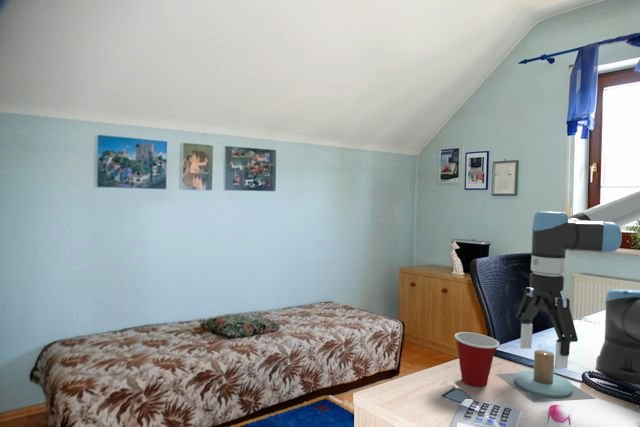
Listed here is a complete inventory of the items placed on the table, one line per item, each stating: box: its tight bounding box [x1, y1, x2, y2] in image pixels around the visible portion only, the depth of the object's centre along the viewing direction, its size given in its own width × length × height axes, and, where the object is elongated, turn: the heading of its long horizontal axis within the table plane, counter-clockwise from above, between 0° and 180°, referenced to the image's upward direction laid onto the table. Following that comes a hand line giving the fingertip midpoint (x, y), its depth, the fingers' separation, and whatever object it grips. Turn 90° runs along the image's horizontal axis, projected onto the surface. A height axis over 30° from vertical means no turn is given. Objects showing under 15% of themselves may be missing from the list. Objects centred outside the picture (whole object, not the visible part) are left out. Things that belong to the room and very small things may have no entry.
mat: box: [495, 372, 597, 403], centre depth 111 cm, size 16×16×1 cm
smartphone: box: [440, 387, 473, 406], centre depth 102 cm, size 7×1×15 cm
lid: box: [515, 349, 574, 397], centre depth 111 cm, size 13×13×8 cm
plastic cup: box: [454, 331, 500, 388], centre depth 112 cm, size 11×11×12 cm
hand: (542, 357), depth 111 cm, fingers open, 13 cm apart
